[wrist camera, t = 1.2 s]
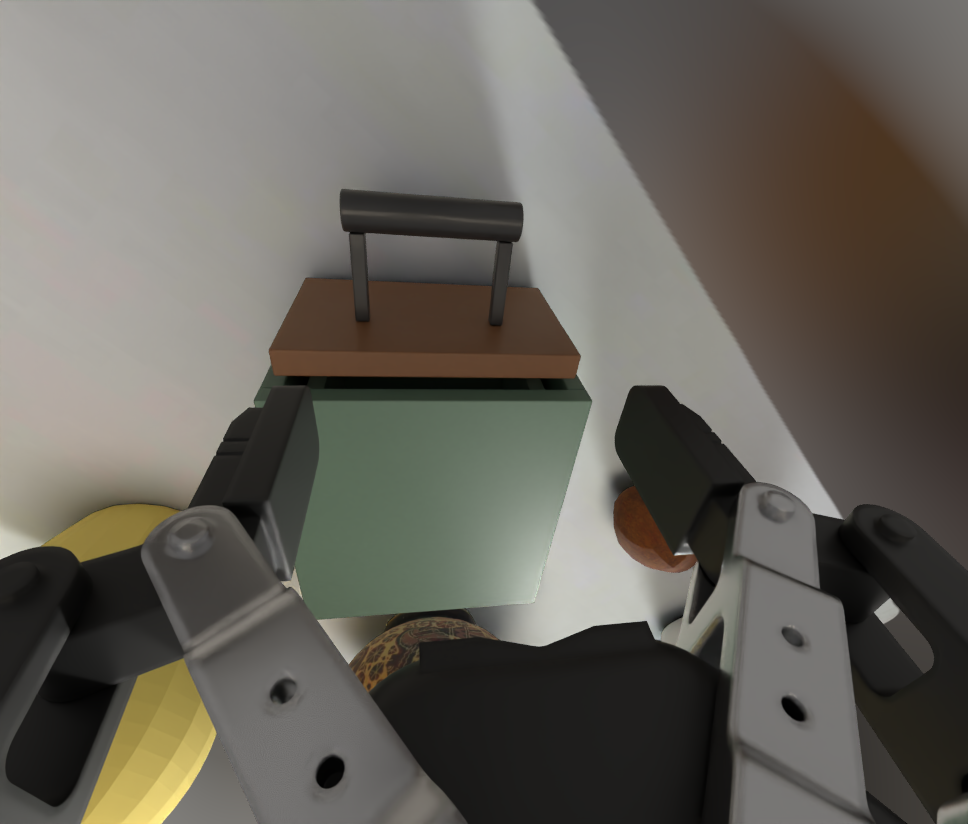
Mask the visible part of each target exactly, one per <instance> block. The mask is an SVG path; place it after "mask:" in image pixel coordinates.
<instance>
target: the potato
mask: <svg viewBox="0 0 968 824" xmlns="http://www.w3.org/2000/svg"><path fill="white" fill-rule="evenodd" d="M613 514H614V529H615V533H616V536H617V539H618V542H619V544H620V545H621V546H622V548H623V549H624V550H625V551H626V552H627V553H628V554H629V555H630V556H631V557H632V558H633V559H634V560H636V561H638V562H639V563H641V564H643V565H644V566H646V567H649V568H652V569H656V570H660V571H665V572H671V573H680V572H683V571H686V570H688V569H690V568H691V567H693V566H694V565H695V563H696V562H697V558H696V557H695V555H694V554H688V555H674V556H673V554H672V552H671V550H670V548H669V547H668V545H667V543H666V541H665V539H664V538H663V536H662V534H661V532H660V530H659V529H658V527H657V525H656V523H655V521H654V520H653V518H652V516H651V514H650V512H649V511H648V509H647V507H646V505H645V503H644V502H643V500H642V498H641V496H640V494H639V493H638V491H637V489H636V487H635V486H632V487H630V488H627V489H626V490H624V491H623V492H622V493H621V494H620V495H619V496H618V498H617V500H616V501H615V504H614V512H613Z"/></svg>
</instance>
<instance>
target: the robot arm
mask: <svg viewBox="0 0 968 824" xmlns="http://www.w3.org/2000/svg"><path fill="white" fill-rule="evenodd" d="M615 448H616V452H617V454H618V456H619V458H620V460H621V462H622V464H623V465H624V467H625V469H626V471H627V473H628V475H629V476H630V478H631V480H632V482H633V484H634V485H635V487H636V489H637V491H638V493H639V494H640V496H641V498H642V500H643V502H644V503H645V505H646V507H647V509H648V511H649V512H650V514H651V516H652V518H653V520H654V521H655V523H656V525H657V527H658V529H659V530H660V532H661V534H662V536H663V538H664V539H665V541H666V543H667V545H668V547H669V548H670V550H671V552H672V554H673V556H674V555H688V554H694V555H695V557H696V558H697V560H698V561H697V563H696V564H695V566H694V568H693V570H692V575H691V580H690V585H689V590H688V595H687V600H686V605H685V610H684V615H683V620H682V625H681V629H680V634H679V637H678V640H677V643H676V645H672V644H669V643H666V642H662V641H659V640H655V639H654V637H653V635H652V632H651V630H650V628H649V625H648V623H647V621H642V622H631V623H621V624H610V625H600V626H593V627H591V628H588V629H586V630H583V631H581V632H578V633H576V634H573V635H571V636H569V637H566V638H564V639H561V640H559V641H556V642H554V643H551V644H549V645H546V646H542V647H536V646H530V645H524V644H518V643H512V642H506V641H500V640H494V639H488V638H482V637H472V638H461V639H451V640H440V641H430V642H419V661H416V662H414V663H411V664H409V665H406V666H404V667H403V668H401V669H399V670H397V671H395V672H393V673H392V674H390V675H389V676H387V677H386V678H385V679H383V680H382V681H380V682H379V683H378V684H377V685H376V686H375V687H373V688H372V689H371V690H370V691H369V692H367V690H366V689H365V687H364V686H363V685H362V683H361V682H360V680H359V679H358V677H357V676H356V675H355V673H354V672H353V670H352V669H351V668H350V666H349V665H348V663H347V662H346V660H345V659H344V658H343V656H342V655H341V653H340V652H339V651H338V649H337V648H336V646H335V645H334V644H333V642H332V641H331V639H330V638H329V636H328V635H327V634H326V632H325V631H324V629H323V628H322V627H321V625H320V624H319V622H318V621H317V619H316V618H315V617H314V615H313V614H312V612H311V611H310V610H309V608H308V607H307V605H306V604H305V602H304V601H303V600H302V598H301V597H300V596H299V594H298V593H297V592H296V591H295V590H294V589H293V588H292V587H289V588H286V587H285V586H284V585H283V584H282V582H281V581H290V580H291V578H292V574H293V570H294V565H295V561H296V557H297V552H298V548H299V544H300V539H301V535H302V531H303V526H304V522H305V518H306V513H307V509H308V505H309V500H310V496H311V492H312V487H313V483H314V479H315V474H316V470H317V466H318V461H319V436H318V430H317V424H316V419H315V413H314V407H313V401H312V395H311V391H310V388H309V386H273V387H272V388H271V390H270V393H269V395H268V397H267V400H266V402H265V404H264V407H262V408H248V409H247V410H245V411H244V412H243V413H242V414H241V415H239V416H238V417H237V418H236V419H235V420H233V421H232V422H231V424H230V426H229V428H228V430H227V432H226V434H225V436H224V438H223V442H221V444H220V446H219V448H218V450H217V452H216V456H214V458H213V460H212V462H211V464H210V466H209V468H208V469H207V471H206V473H205V475H204V477H203V479H202V481H201V483H200V485H199V487H198V489H197V491H196V493H195V495H194V497H193V499H192V501H191V503H190V505H189V507H188V509H186V510H183V511H180V512H178V513H176V514H174V515H172V516H170V517H168V518H167V519H165V520H164V521H162V522H161V523H160V524H159V525H157V526H156V527H155V528H154V529H153V530H152V531H151V532H150V534H149V535H148V536H147V538H146V539H145V541H144V543H143V544H141V545H139V546H135V547H132V548H129V549H126V550H122V551H119V552H115V553H112V554H108V555H105V556H101V557H98V558H94V559H91V560H87V561H83V562H80V561H79V560H78V559H77V557H76V556H75V555H74V554H73V553H72V552H71V551H70V550H68V549H66V548H62V547H57V546H43V547H36V548H31V549H27V550H24V551H21V552H18V553H15V554H12V555H10V556H8V557H5V558H3V559H1V560H0V824H81V822H82V819H83V817H84V814H85V812H86V809H87V806H88V804H89V801H90V799H91V796H92V794H93V791H94V788H95V786H96V783H97V781H98V778H99V775H100V773H101V770H102V768H103V765H104V763H105V760H106V757H107V755H108V752H109V750H110V747H111V744H112V742H113V739H114V737H115V734H116V732H117V729H118V726H119V724H120V721H121V719H122V716H123V713H124V711H125V708H126V706H127V703H128V701H129V698H130V695H131V693H132V690H133V688H134V685H135V683H136V680H137V677H138V676H139V675H141V674H144V673H147V672H149V671H152V670H154V669H157V668H160V667H162V666H165V665H167V664H170V663H173V662H175V661H178V660H180V659H183V658H184V661H185V664H186V666H187V668H188V671H189V673H190V675H191V677H192V680H193V682H194V684H195V686H196V688H197V691H198V693H199V695H200V697H201V699H202V702H203V704H204V706H205V708H206V710H207V713H208V715H209V717H210V719H211V721H212V724H213V726H214V728H215V730H216V732H217V734H218V737H219V739H220V741H221V743H222V746H223V748H224V750H225V752H226V754H227V757H228V759H229V761H230V763H231V765H232V768H233V770H234V772H235V774H236V776H237V779H238V781H239V783H240V785H241V788H242V789H243V792H244V794H245V796H246V798H247V801H248V803H249V805H250V807H251V809H252V812H253V814H254V816H255V818H256V821H257V823H258V824H907V823H906V822H904V821H903V820H902V819H901V818H899V817H898V816H897V815H896V814H895V813H893V812H892V811H891V810H890V809H888V808H887V807H886V806H885V805H883V804H882V803H881V802H880V801H879V800H877V799H876V798H875V797H874V796H872V795H871V794H870V793H869V792H868V791H866V790H865V783H864V774H863V767H862V758H861V750H860V741H859V733H858V724H857V716H856V708H855V703H856V704H857V706H858V708H859V709H860V711H861V712H862V714H863V715H864V717H865V718H866V720H867V721H868V723H869V724H870V726H871V727H872V729H873V730H874V732H875V733H876V735H877V736H878V738H879V739H880V741H881V742H882V744H883V745H884V747H885V748H886V750H887V751H888V753H889V754H890V756H891V757H892V759H893V761H894V762H895V763H896V765H897V766H898V768H899V769H900V771H901V772H902V774H903V776H904V777H905V779H906V780H907V782H908V783H909V785H910V786H911V788H912V789H913V791H914V792H915V793H916V795H917V797H918V798H919V800H920V801H921V803H922V804H923V806H924V807H925V809H926V810H927V812H928V813H929V815H930V816H931V818H932V819H933V821H934V822H935V824H968V571H967V570H966V569H965V568H964V567H963V566H962V565H960V564H959V563H958V562H957V561H956V560H955V559H954V558H953V557H952V556H951V555H950V554H949V553H948V552H947V551H946V550H944V549H943V548H942V547H941V546H940V545H939V544H938V543H937V542H936V541H935V540H934V539H933V538H932V537H931V536H930V535H928V534H927V533H926V532H925V531H924V530H923V529H922V528H921V527H919V526H918V525H917V524H916V523H914V522H913V521H911V520H910V519H908V518H907V517H905V516H903V515H901V514H899V513H897V512H895V511H893V510H890V509H887V508H884V507H881V506H877V505H870V504H864V505H859V506H857V507H856V508H855V509H854V510H853V511H852V512H851V513H850V514H849V516H848V517H847V518H846V519H845V520H842V519H837V518H832V517H828V516H823V515H818V514H813V513H812V512H811V511H810V509H809V508H808V507H807V506H806V505H805V503H803V502H802V501H801V500H800V499H799V498H797V497H796V496H795V495H793V494H792V493H790V492H788V491H786V490H784V489H782V488H780V487H778V486H775V485H772V484H768V483H762V482H756V481H755V479H754V478H753V477H752V476H751V475H750V474H749V472H748V471H747V470H746V469H745V468H744V467H743V465H742V464H741V463H740V462H739V461H738V460H737V458H736V457H735V456H734V455H733V454H732V453H731V452H730V450H729V449H728V448H727V447H726V446H725V445H724V444H721V440H720V439H719V438H718V436H717V435H716V434H715V433H714V432H712V429H711V428H710V427H709V426H708V425H707V424H706V422H705V421H704V420H703V419H702V418H701V417H700V416H699V415H698V414H696V413H695V412H693V411H692V410H690V409H689V408H687V407H686V406H685V405H683V404H680V403H679V402H678V401H677V400H676V398H675V397H674V396H673V395H672V393H671V392H670V391H669V390H668V389H667V388H666V387H665V386H662V385H648V386H633V387H632V388H631V389H630V391H629V394H628V396H627V399H626V402H625V405H624V408H623V411H622V414H621V417H620V420H619V423H618V426H617V429H616V433H615ZM889 598H891V599H892V600H893V601H894V602H895V604H896V605H897V606H898V607H899V608H900V609H901V611H902V612H903V613H904V614H905V615H906V616H907V617H908V619H909V620H910V621H911V622H912V623H913V624H914V626H915V627H916V628H917V629H918V630H919V631H920V633H922V635H923V636H924V637H925V638H926V640H927V641H928V642H929V644H930V646H931V648H932V650H933V653H934V664H933V666H932V668H931V669H930V670H929V671H927V672H926V673H925V674H923V673H922V672H921V670H920V669H919V668H918V667H917V665H916V664H915V663H914V662H913V660H912V659H911V658H910V657H909V655H908V654H907V653H906V652H905V651H904V649H903V648H902V647H901V646H900V645H899V643H898V642H897V641H896V639H895V638H894V637H893V636H892V634H891V633H890V632H889V631H888V629H887V628H886V627H885V626H884V625H883V623H882V622H881V621H880V620H879V618H878V617H877V616H876V615H875V613H874V612H875V611H876V610H877V609H878V608H879V607H880V606H881V605H882V604H883V603H885V602H886V601H887V600H888V599H889Z"/></svg>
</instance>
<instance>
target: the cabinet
mask: <svg viewBox="0 0 968 824" xmlns="http://www.w3.org/2000/svg"><path fill="white" fill-rule="evenodd" d="M309 377H310V376H275V375H274V374H273V369H272V365H271V366H270V368H269V370H268V373H267V375H266V377H265V379H264V381H263V383H262V385H261V387H260V389H259V391H258V393H257V395H256V397H255V399H254V404H255V408H262V407H264V404H265V402H266V400H267V397H268V395H269V393H270V390H271V388H272V387H273V386H307V383H308V380H309ZM540 380H541V382H542V384H543V386H544V389H545V390H473V389H310V391H311V395H312V401H313V407H314V413H315V419H316V424H317V430H318V436H319V461H318V466H317V470H316V474H315V479H314V483H313V487H312V492H311V496H310V500H309V505H308V509H307V513H306V518H305V522H304V526H303V531H302V535H301V539H300V544H299V548H298V552H297V557H296V561H295V569H296V573H297V577H298V581H299V585H300V589H301V593H302V597H303V601H304V602H305V604H306V605H307V607H308V608H309V610H310V611H311V612H312V614H313V615H314V617H315V618H316V619H317V620H320V619H333V618H346V617H359V616H372V615H385V614H398V613H411V612H423V611H436V610H449V609H462V608H475V607H488V606H501V605H514V604H526V603H534V601H535V598H536V594H537V591H538V588H539V584H540V581H541V577H542V574H543V570H544V567H545V563H546V560H547V556H548V553H549V549H550V546H551V543H552V539H553V536H554V532H555V529H556V525H557V522H558V518H559V515H560V511H561V508H562V504H563V501H564V497H565V494H566V491H567V487H568V484H569V480H570V477H571V473H572V470H573V466H574V463H575V459H576V456H577V452H578V449H579V446H580V442H581V439H582V435H583V432H584V428H585V425H586V421H587V418H588V414H589V411H590V407H591V404H592V400H591V398H590V396H589V394H588V393H587V391H586V390H585V388H584V387H583V385H582V383H581V381H580V380H579V378H578V376H577V374H576V377H575V378H574V379H565V378H540Z"/></svg>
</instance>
